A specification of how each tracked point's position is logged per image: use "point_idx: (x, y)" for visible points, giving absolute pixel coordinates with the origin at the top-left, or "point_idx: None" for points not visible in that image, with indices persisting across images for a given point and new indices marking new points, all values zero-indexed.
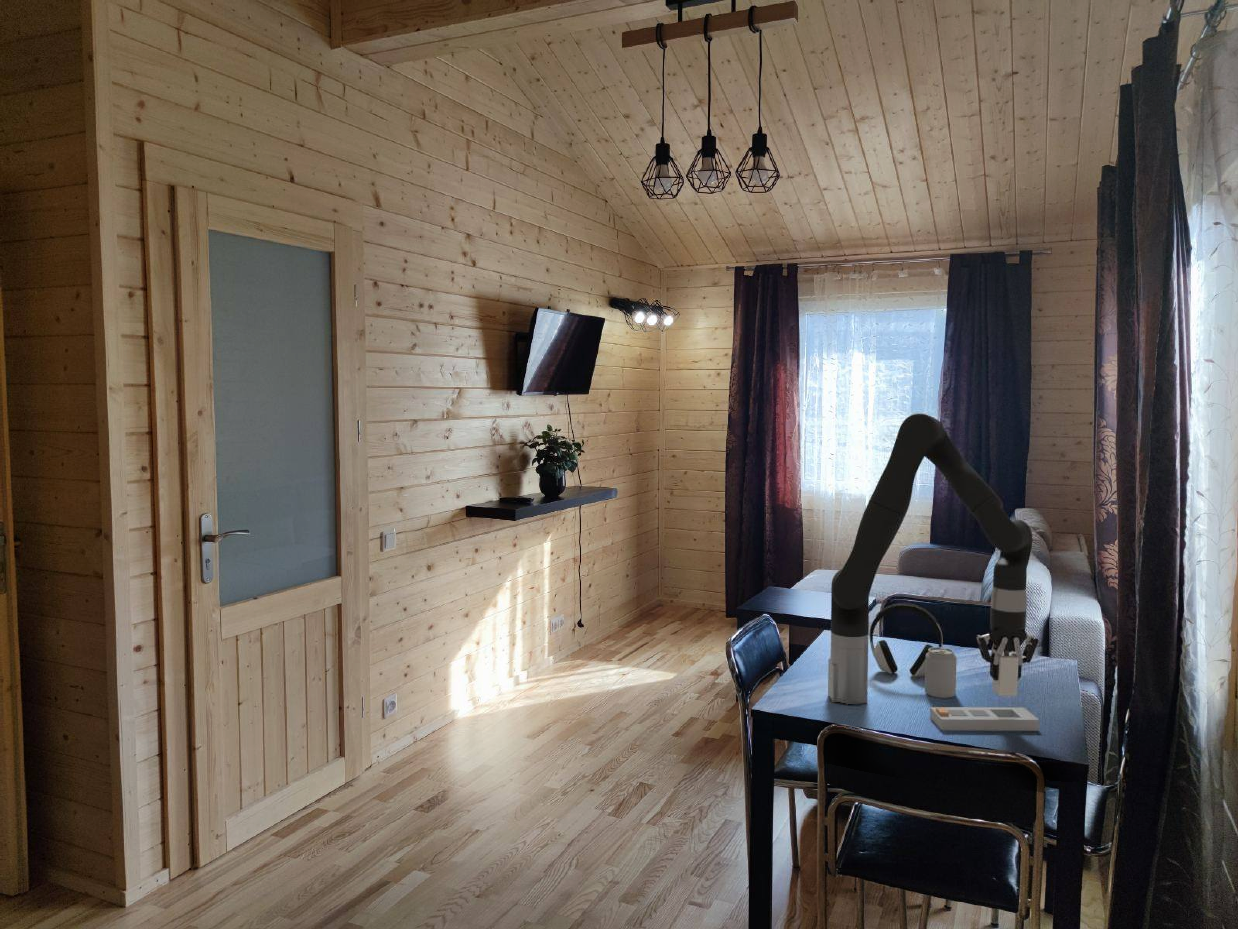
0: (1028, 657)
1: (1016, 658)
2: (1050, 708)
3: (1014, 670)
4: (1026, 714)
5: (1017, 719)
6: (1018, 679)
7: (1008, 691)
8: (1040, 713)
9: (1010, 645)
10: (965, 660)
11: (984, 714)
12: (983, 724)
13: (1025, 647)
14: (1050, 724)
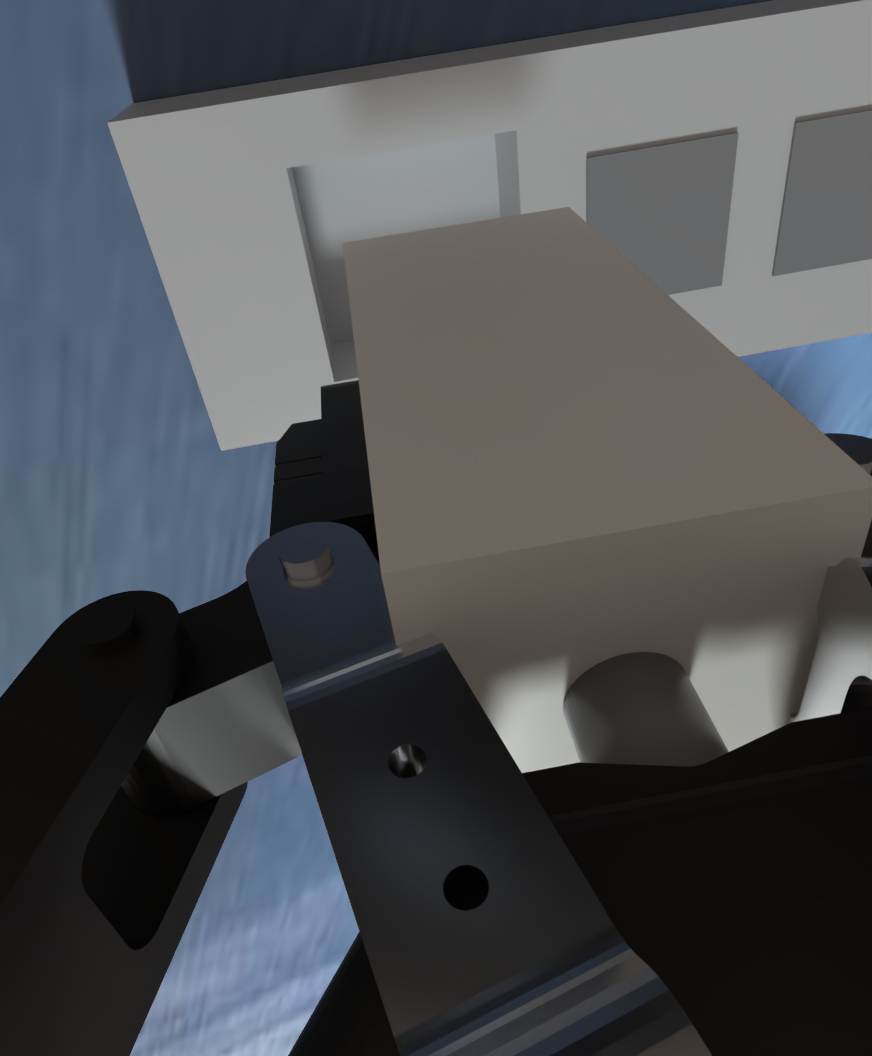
0: (91, 690)
1: (441, 549)
2: (21, 646)
3: (433, 390)
4: (220, 273)
5: (335, 95)
6: (323, 386)
7: (464, 242)
8: (92, 551)
9: (720, 933)
10: None
11: (625, 190)
12: (668, 26)
13: (128, 1030)
14: (20, 346)
